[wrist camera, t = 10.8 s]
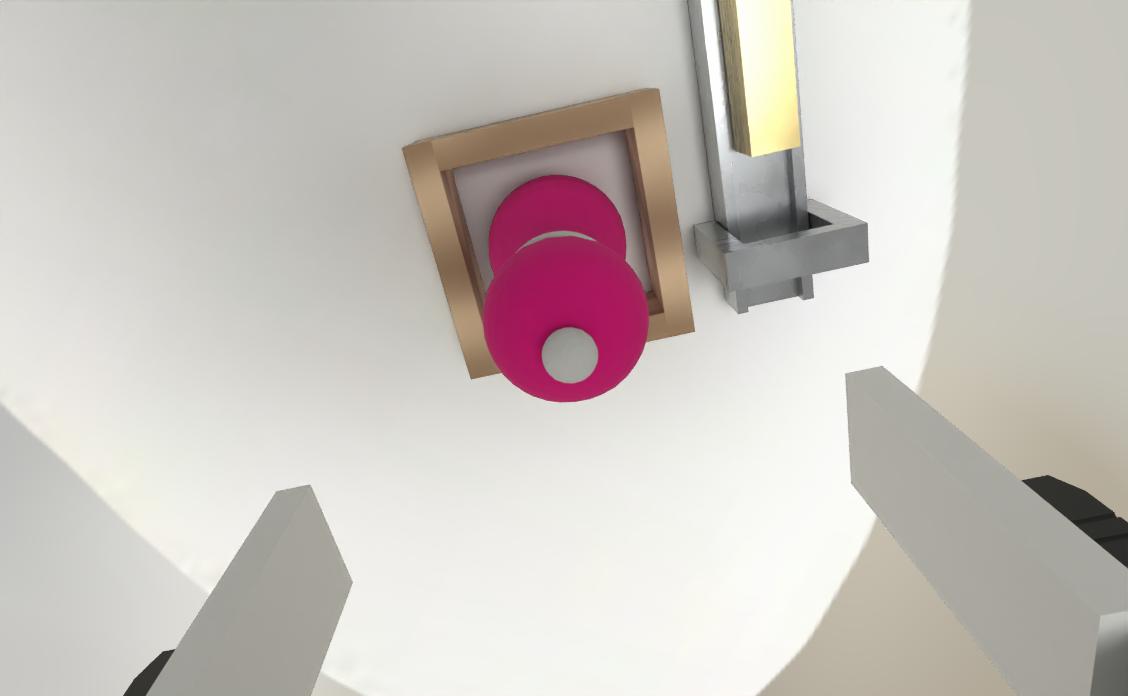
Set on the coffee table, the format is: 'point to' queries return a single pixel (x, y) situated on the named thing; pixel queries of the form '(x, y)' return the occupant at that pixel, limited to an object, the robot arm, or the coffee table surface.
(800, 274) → the rail
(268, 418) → the coffee table surface
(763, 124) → the pin
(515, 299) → the pepper mill
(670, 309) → the cradle
